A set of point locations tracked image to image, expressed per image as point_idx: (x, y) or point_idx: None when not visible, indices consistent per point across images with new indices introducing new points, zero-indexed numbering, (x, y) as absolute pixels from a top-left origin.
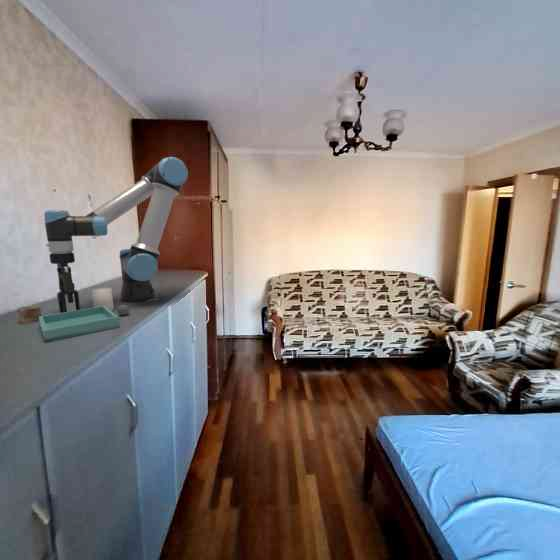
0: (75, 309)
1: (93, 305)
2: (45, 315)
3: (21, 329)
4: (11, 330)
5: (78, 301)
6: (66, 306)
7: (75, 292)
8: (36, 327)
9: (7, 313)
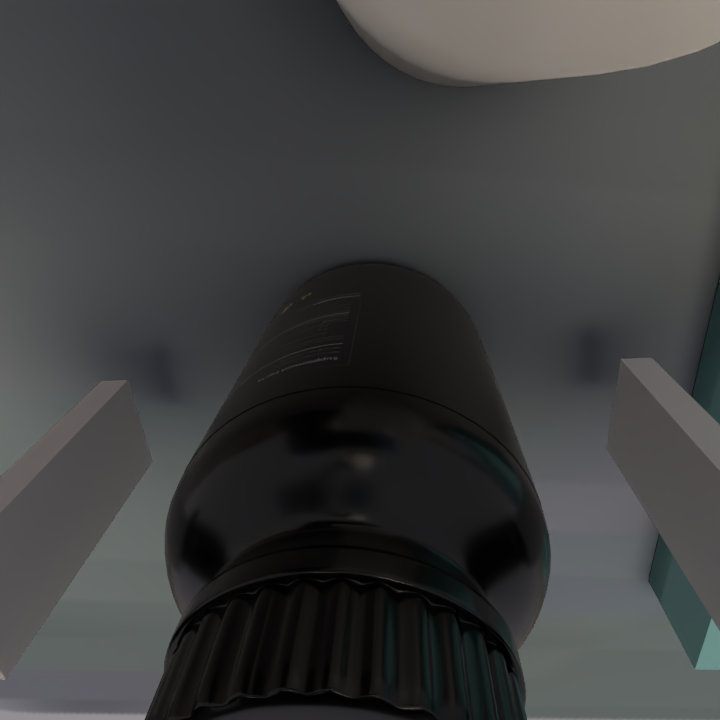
0: (658, 370)
1: (489, 84)
2: (713, 630)
3: (618, 661)
4: (586, 696)
5: (440, 338)
6: (643, 495)
7: (490, 480)
8: (657, 598)
9: (12, 702)
